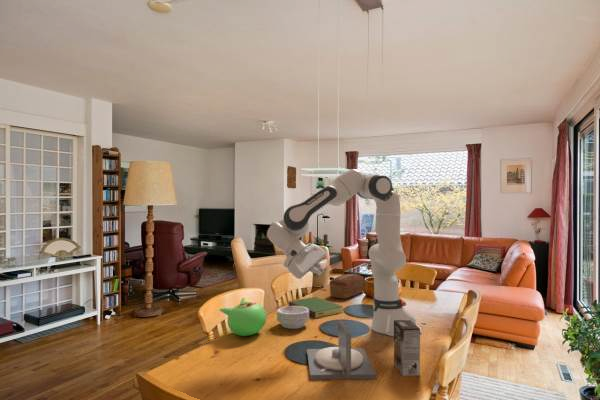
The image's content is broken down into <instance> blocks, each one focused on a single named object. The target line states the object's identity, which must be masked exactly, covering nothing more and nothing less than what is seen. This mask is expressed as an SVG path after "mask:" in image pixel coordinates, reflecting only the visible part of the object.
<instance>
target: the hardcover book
mask: <svg viewBox="0 0 600 400" xmlns="http://www.w3.org/2000/svg"><path fill="white" fill-rule="evenodd" d="M288 306H302V307H306V308H308V309H309V318H310V317H311V318H312V319H317V318H322V317H327V316H331V315H335V314H340V313H343V305H341V304H338V303H334V302H332V301H329V300H327V299H323V298H320V297H317V296H311V297H306V298H302V299H297V300H296V299H295V300H290V301H288Z"/></svg>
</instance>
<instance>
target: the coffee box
mask: <svg viewBox="0 0 600 400" xmlns="http://www.w3.org/2000/svg"><path fill="white" fill-rule="evenodd" d="M417 325H418V324H417ZM417 325H415V324H414V323H413V322H412V321H411V320H394V336H393V365H394V366H395V368H396V369H397V371H399V373H400V374H401V376H403V377H409V376H420V375H421V371H420V370H421V333H420V328H421V327H420V326H419V325H418V326H419V327H420V328H419V327H418V326H417Z"/></svg>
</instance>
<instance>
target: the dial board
mask: <svg viewBox="0 0 600 400" xmlns="http://www.w3.org/2000/svg"><path fill="white" fill-rule="evenodd" d="M321 349H322V348H308V349H306V355H307V356H308V357H307V361H308V363H307V364H308V371H309V377H310V378H309V380H316V381H317V380H359V379H360V380H365V379H366V380H368V379H374V380H375V379H377V372H376V370H375V368H374V366H373V365H372V363H371V361H370V359H369V357H368V355H367V352H366V350H365V349H364V348H361V347H360V348H358V347H357V348H353V347H351V349H354V350H356V351H358V352H360V353H361V354H362V356H363V363H362V365H361V366H360V367H358V368H355V369H352V370H351V376H346V375H345V373H344V371H339V370H331V369H327V368H324V367H322V366H320V365H318V364H317V363H316V360H315V355H316V353H317V352H318V351H319V350H321Z"/></svg>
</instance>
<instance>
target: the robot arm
mask: <svg viewBox="0 0 600 400" xmlns="http://www.w3.org/2000/svg"><path fill="white" fill-rule="evenodd" d="M356 194H357V195H358V196H359V197H360V198H361V199H364V200H365V199H366V200H374V202H375V205H376V209H375V229H374V230H375V234H376V237H377V243H375V244H373V245H371V247H369V249H368V257H369V260H370V264H371V265H370V266H371V270H372V276H373V286H374V287H373V290H374V292H373V298H372V299H373V300H372V309H373V313H372V314H373V316H372V321H371V325H370V329H371V330H372V331H373V332H375V333H379V334H383V335H387V336H389V337H394V320H411V321H412V322H413V323H414V324H415V325H417V326H418V327H419V328H420V334H422V327H420V326H419V325H418V324H417V321H416V317H415V316H414V315H413V313H411V312H410V311H409V310H407V309H406V308H405V306H407V302H406V301H405V300H403V299H401V298H400V296H399V294H400V293H399V292H400V291H399V290H400V289H399V287H400V286H399V284H400V283H399V279H398V277H397V275H396V274H397V273H396V271H400V270H402V269H403V268H404V267H405V265H406V262H407V257H406V253H405V251H404V249H403V244H402V237H401V200H400V196H399V194H398V193H397V192H396V191H395V190H394V187H393V183H392V180H391V179H390V178H389V176H387V175H384V174H382V173H380V174H379V173H376V174H370V175H369V174H368V175H365V176H364V175H363V173H362V172H361V171H359V170H358V169H355V168H353V169H352V168H351V169H349V170H347V171H345V172H343V173H342V174H340V175H339V176H337V177H336V178H335V179H333V180H332V181H330V182H329V183H328V184H326V186H324V187H323V188H322V189H320V190H319V191H317V192H316V193H315V194H312V196H310V197H309V198H307V199H306V200H304V201H302V202H300V203H298V204H294V205H290V206H289V207H288V208H287V209H286V210H285V211H284V213H283V219H281V220H275V221H273V222H272V223H271V224H270V225H269V227H268V229H267V231H266V235H267V236H266V237H267V239H268V240H269V241H270V242H271V244H273V245H274V247H276V248H277V249H278V250H280V251H281V252H282V253H283V254H284V255H285V256H286V258H285V259H284V262H283V267H284V268H287V270H288V271H289V272H290V273H291V274H292V276H294V277H295V279H298V280H301V279H302V278H303V277H304V276H306V274H308V273H309V272H311V273H314V274H316V275H317V276H319V277H322V275H323V274H324V273H325V269H324V268H323V267H322V264H321V263H320V262H322V261H323V260H324V259H325V257H326V256H327V251H325V250H324V249H323V248H321V246H319V245H317V244H315V243H314V242H313V243H312V242H308V243H307V244H305V242H303V241H302V240H301V239H300V238H301V237H303V236H305V234H306V233H307V232H308V231H309V227H310V226H309V225H310V224H309V221H310V218H311V217H312V216H313V215H314V214H316V213H317V212H318V211H319V210H320V209H322V208H323V207H325V206H328V205H331V206H335V207H338V206H341V205H343V204H344V203H346V202H348V201H349V200H351V198H353V196H355V195H356Z"/></svg>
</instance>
